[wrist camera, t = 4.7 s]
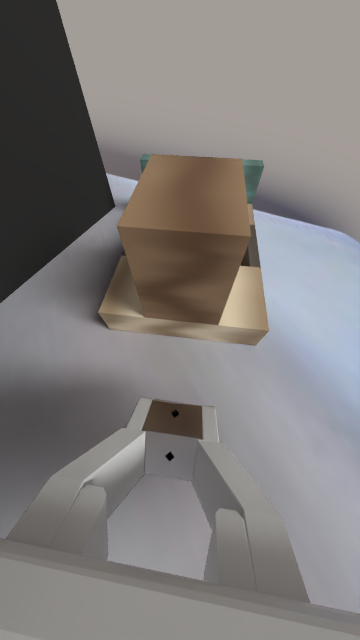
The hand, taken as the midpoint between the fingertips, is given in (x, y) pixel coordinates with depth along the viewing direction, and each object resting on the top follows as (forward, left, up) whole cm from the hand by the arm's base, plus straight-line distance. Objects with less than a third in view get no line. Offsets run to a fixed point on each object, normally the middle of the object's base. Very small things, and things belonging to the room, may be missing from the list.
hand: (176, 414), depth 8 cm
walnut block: (-1, +11, -5) cm, 12 cm away
